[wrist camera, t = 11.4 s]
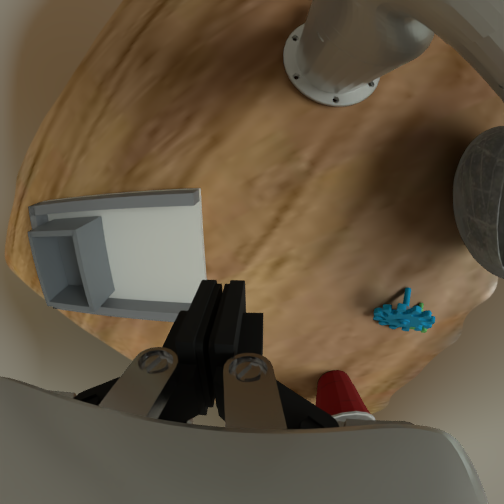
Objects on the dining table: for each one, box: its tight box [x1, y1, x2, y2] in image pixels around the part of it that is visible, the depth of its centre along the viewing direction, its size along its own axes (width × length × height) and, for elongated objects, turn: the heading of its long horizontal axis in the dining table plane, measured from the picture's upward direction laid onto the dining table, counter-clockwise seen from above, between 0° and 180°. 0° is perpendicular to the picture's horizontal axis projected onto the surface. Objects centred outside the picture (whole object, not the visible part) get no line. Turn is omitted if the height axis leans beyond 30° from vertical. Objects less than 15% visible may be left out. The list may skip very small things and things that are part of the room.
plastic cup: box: [316, 370, 375, 422], centre depth 42 cm, size 11×11×12 cm
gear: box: [373, 288, 435, 333], centre depth 39 cm, size 11×6×10 cm
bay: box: [28, 188, 207, 322], centre depth 39 cm, size 18×28×4 cm, turn 91°
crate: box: [28, 216, 115, 312], centre depth 37 cm, size 12×10×7 cm
